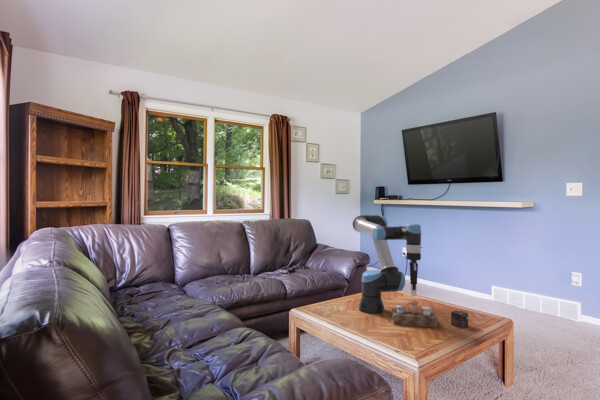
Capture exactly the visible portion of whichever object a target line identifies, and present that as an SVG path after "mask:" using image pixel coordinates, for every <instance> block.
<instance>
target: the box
mask: <svg viewBox="0 0 600 400" xmlns="http://www.w3.org/2000/svg"><path fill="white" fill-rule="evenodd" d="M450 325H451V326H454V327H456V328H459V329H464V328H467V327H469V312H466V311H463V310H460V309H459V310H458V309H456V310H451V311H450Z"/></svg>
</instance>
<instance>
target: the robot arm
mask: <svg viewBox="0 0 600 400" xmlns="http://www.w3.org/2000/svg"><path fill="white" fill-rule="evenodd" d="M352 227H353V229H354V231H356V232H357V233H364V234H367V235H368V236H369V238H370V237H371V238H372V242H373V245H374V248H375V252H376V254H377V255H376V256H377V259H378V262H379V266H380V270H378V269H375V270H374V269H370V270H366V271H364V272H363V273H362V275H361V298H360V301H359V304H358V310H359V311H360V312H361V313H366V314H373V315H374V314H377V315H378V314H383V313H384V312H385V305H384V301H383V299H382V293H391V292H392V293H394V292H401V291H402V290H404V288H405V285H406V276H405V273H403V272H402V271H399V270H400V269H399V267H398V266H396V265H395V263H394V260H393V257H392V254H391V250H390V247H389V244H388V241H389V240H391V241H398V240H403V241H406V244H405V248H406V249H405V250H406V253H405V254H406V255H405V257H406V260H408V261H410V262H409V264H408V265H409V280H410V296H411V297H417V284H418V271H419V270H418V269H419V263H418V261H421V260H422V253H421V251H422V249H423V246H422V229H421V227H422V226H421V225H420V224H418V223H407V224H406V226H405V225H401V226H400V225H399V226H388V221H387V218H386V217H385V216H383V215H380V214H361V215H358V216H355V218H354V219H353V221H352Z"/></svg>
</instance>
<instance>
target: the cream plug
mask: <svg viewBox="0 0 600 400" xmlns="http://www.w3.org/2000/svg"><path fill="white" fill-rule="evenodd" d="M422 311H423V315H430V311H432V307H431V306H428V305H427V306H425V305H424V306H422Z"/></svg>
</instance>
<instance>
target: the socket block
mask: <svg viewBox="0 0 600 400" xmlns="http://www.w3.org/2000/svg"><path fill="white" fill-rule="evenodd" d="M391 320H392V325H398V326H399V325H400V326H412V327H427V328H438V317H437V315H436V314H435V313H434V311H433V310H431V311H430V315H423V309H422V310H419V309H417V315H416V314H410V309H405V308H404V314H400V313H397V308H391Z"/></svg>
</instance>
